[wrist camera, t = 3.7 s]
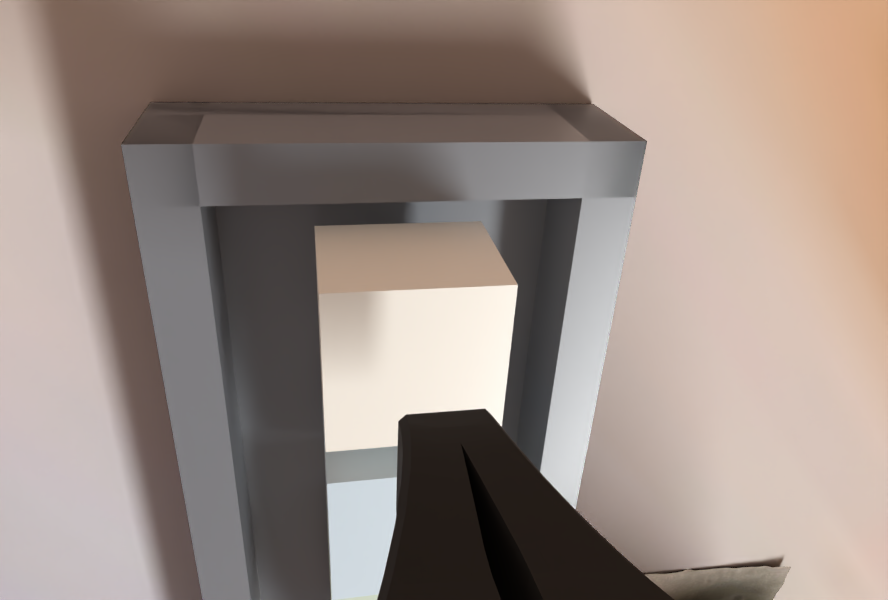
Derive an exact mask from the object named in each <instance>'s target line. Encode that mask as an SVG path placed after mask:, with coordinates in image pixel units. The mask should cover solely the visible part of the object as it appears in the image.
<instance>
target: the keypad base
mask: <svg viewBox="0 0 888 600" xmlns="http://www.w3.org/2000/svg"><path fill="white" fill-rule="evenodd" d="M646 144H647V141H646V140H644V139H643V138H642V137H640V136H639V135H637V134H636V133H634V132H633V131H631V130H630V129H629V128H627V127H626V126H624V125H623V124H621V123H620V122H618V121H617V120H616V119H614V118H613V117H611V116H610V115H608V114H607V113H605V112H604V111H603V110H601V109H600V108H598V107H597V106H595V105H594V104H464V103H216V102H150V104H149V105H148V107H147V108H146V109H145V111H144V112H143V114H142V115H141V117H140V118H139V119H138V121H137V122H136V124H135V125H134V127H133V128H132V130H131V131H130V132H129V134H128V135H127V137H126V138H125V140H124V141H123V142H122V144H121V147H122V153H123V158H124V164H125V169H126V175H127V181H128V186H129V192H130V197H131V203H132V209H133V214H134V220H135V225H136V231H137V237H138V242H139V248H140V253H141V259H142V265H143V270H144V276H145V281H146V287H147V293H148V298H149V304H150V309H151V315H152V320H153V326H154V332H155V337H156V343H157V348H158V354H159V360H160V365H161V371H162V376H163V382H164V388H165V393H166V399H167V404H168V410H169V416H170V421H171V427H172V432H173V438H174V444H175V449H176V455H177V460H178V466H179V472H180V477H181V483H182V488H183V494H184V500H185V505H186V511H187V516H188V522H189V527H190V533H191V539H192V544H193V550H194V555H195V561H196V567H197V572H198V578H199V583H200V589H201V595H202V600H331V593H330V574H329V551H328V529H327V506H326V476H325V453H324V430H323V408H322V381H321V362H320V340H319V317H318V294H317V272H316V249H315V226H327V225H364V224H400V223H437V222H474V221H481V222H482V224H483V225H484V227H485V229H486V230H487V232H488V234H489V236H490V237H491V239H492V241H493V243H494V244H495V246H496V248H497V250H498V251H499V253H500V255H501V256H502V258H503V260H504V262H505V263H506V265H507V267H508V269H509V270H510V272H511V274H512V276H513V277H514V279H515V281H516V282H517V284H518V289H517V297H516V306H515V315H514V324H513V332H512V341H511V350H510V359H509V368H508V376H507V385H506V394H505V403H504V411H503V420H502V428H503V429H504V430H505V432H506V433H507V434H508V435H509V436H510V438H511V439H512V440H513V441H514V442H515V444H516V445H517V446H518V447H519V448H520V450H521V451H522V452H523V453H524V454H525V455H526V456H527V458H528V459H529V460H530V461H531V462H532V463H533V464H534V466H535V467H536V468H537V469H538V470H539V471H540V472H541V474H542V475H543V476H544V477H545V478H546V479H547V480H548V481H549V482H550V483H551V484H552V486H553V487H554V488H555V489H556V490H557V491H558V492H559V493H560V494H561V495H562V496H563V497H564V498H565V499H566V500H567V501H568V502H569V503H570V505H571V506H572V507H573V508H574V509H575V510H576V505H577V500H578V495H579V489H580V484H581V479H582V474H583V469H584V464H585V458H586V453H587V448H588V443H589V438H590V433H591V428H592V422H593V417H594V412H595V407H596V402H597V397H598V391H599V386H600V381H601V376H602V371H603V366H604V360H605V355H606V350H607V345H608V340H609V335H610V329H611V324H612V319H613V314H614V309H615V304H616V298H617V293H618V288H619V283H620V278H621V273H622V267H623V262H624V257H625V252H626V247H627V242H628V236H629V231H630V226H631V221H632V216H633V211H634V206H635V200H636V195H637V190H638V185H639V180H640V175H641V169H642V164H643V159H644V154H645V149H646Z"/></svg>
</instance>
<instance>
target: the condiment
mask: <svg viewBox="0 0 888 600" xmlns="http://www.w3.org/2000/svg"><path fill="white" fill-rule="evenodd" d="M790 568H791V567H773V568H772V567H769V566H761V567H742V568H717V569H707V570H695V571H694V570H691V569H688V570H687V569H686V570H684V571H681V572H677V573H668V574H645V576H646V577H648V578H649V579H650V580H651V581H652V582H654V583H655V584H656V585H657V586H658V587H660V588H661V589H662V590H663V591H665V592H666V593H667V594H668V595H669V596H671V597H672V598H673V599H674V600H773V598H774V596H775V594H776V593H777V592H778V591H779V589H780V588H781V587H782V585H783V583H784V580H785V578H786V576H787V574H788V572H789V570H790Z"/></svg>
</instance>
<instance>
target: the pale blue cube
mask: <svg viewBox="0 0 888 600" xmlns="http://www.w3.org/2000/svg"><path fill="white" fill-rule="evenodd" d="M322 408H323V398H322ZM323 430H324V416H323ZM397 450H398V446H392V447H380V448H368V449H357V450H345V451H333V452H326V451H325V433H324V453H325V476H326V498H327V518H328V536H329V555H330V573H331V592H332V600H338V599H346V598H354V597H362V596H370V595H378V594H379V591H380V587H381V583H382V579H383V575H384V571H385V567H386V562H387V558H388V553H389V549H390V545H391V540H392V536H393V531H394V526H395V521H396V490H397Z"/></svg>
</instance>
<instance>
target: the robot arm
mask: <svg viewBox="0 0 888 600" xmlns="http://www.w3.org/2000/svg"><path fill="white" fill-rule="evenodd" d="M377 600H674V599H673V598H672V597H671V596H669V595H668V594H667V593H666V592H665V591H663V590H662V589H661V588H660V587H658V586H657V585H656V584H655V583H654V582H652V581H651V580H650V579H649V578H648V577H646V576H645V575H644V574H643V573H642V572H641V571H640V570H638V569H637V568H636V567H635V566H634V565H633V564H632V563H631V562H629V561H628V560H627V559H626V558H625V557H624V556H623V555H622V554H621V553H619V552H618V551H617V550H616V549H615V548H614V547H613V546H612V545H611V544H610V543H609V542H608V541H607V540H606V539H605V538H604V537H603V536H601V535H600V534H599V533H598V532H597V531H596V530H595V529H594V528H593V527H592V526H591V525H590V524H589V523H588V522H587V521H586V520H585V519H584V518H583V517H582V516H581V515H580V514H579V513H578V512H577V511H576V510H575V509H574V508H573V507H572V506H571V505H570V503H569V502H568V501H567V500H566V499H565V498H564V497H563V496H562V495H561V494H560V493H559V492H558V491H557V490H556V489H555V488H554V487H553V486H552V484H551V483H550V482H549V481H548V480H547V479H546V478H545V477H544V476H543V475H542V474H541V472H540V471H539V470H538V469H537V468H536V467H535V466H534V464H533V463H532V462H531V461H530V460H529V459H528V458H527V456H526V455H525V454H524V453H523V452H522V451H521V450H520V448H519V447H518V446H517V445H516V444H515V442H514V441H513V440H512V439H511V438H510V436H509V435H508V434H507V433H506V432H505V430H504V429H503V428H502V427H501V426H500V424H499V423H498V422H497V421H496V419H495V418H494V417H493V416H492V415H491V414H490V413H489V412H488V411H487V410H486V409H473V410H459V411H446V412H433V413H419V414H406V415H405V416H404V417H403V418H401V419H400V420H399V421H398V450H397V490H396V521H395V526H394V531H393V536H392V540H391V545H390V549H389V553H388V558H387V562H386V567H385V571H384V575H383V579H382V583H381V587H380V591H379V594H378V598H377Z"/></svg>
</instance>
